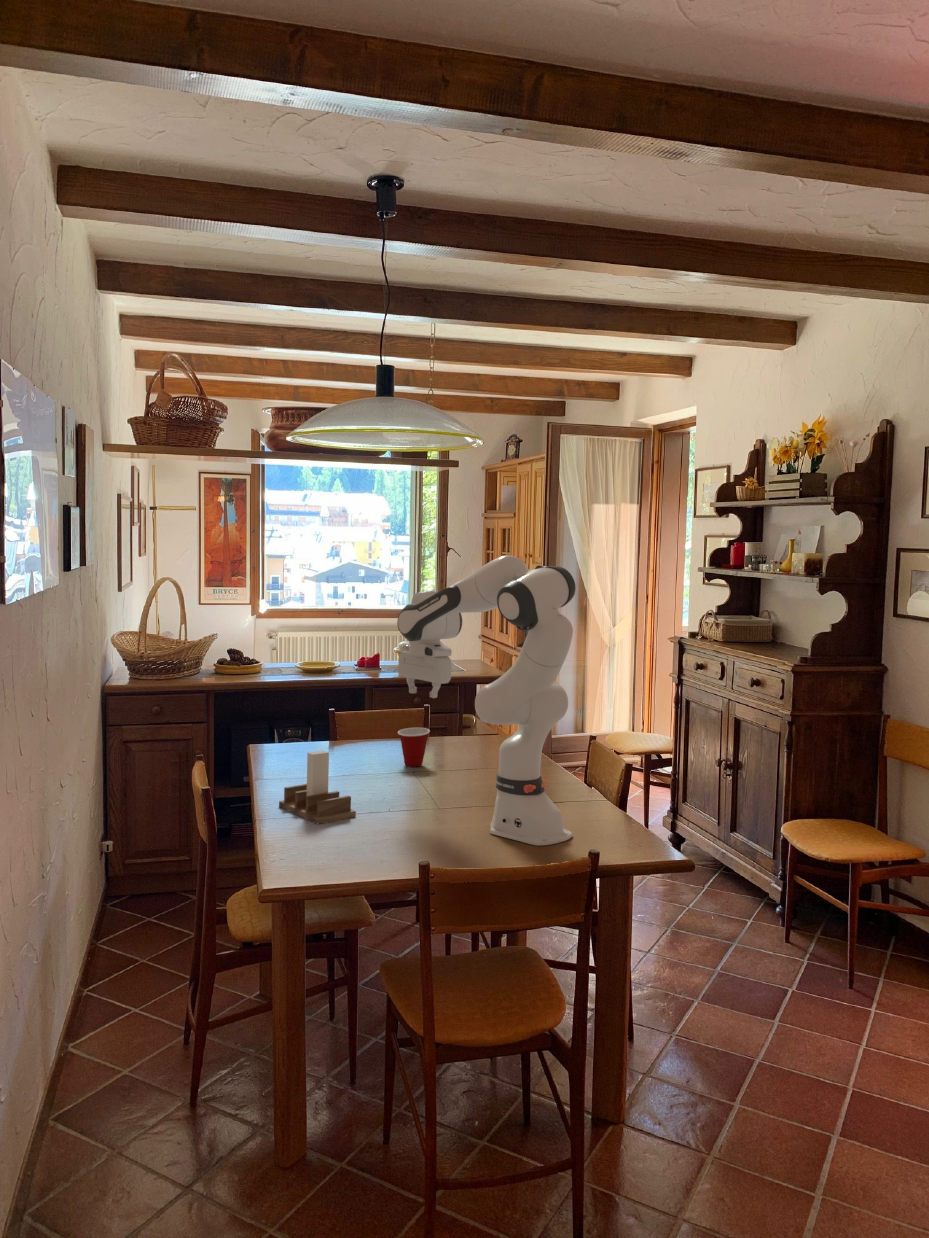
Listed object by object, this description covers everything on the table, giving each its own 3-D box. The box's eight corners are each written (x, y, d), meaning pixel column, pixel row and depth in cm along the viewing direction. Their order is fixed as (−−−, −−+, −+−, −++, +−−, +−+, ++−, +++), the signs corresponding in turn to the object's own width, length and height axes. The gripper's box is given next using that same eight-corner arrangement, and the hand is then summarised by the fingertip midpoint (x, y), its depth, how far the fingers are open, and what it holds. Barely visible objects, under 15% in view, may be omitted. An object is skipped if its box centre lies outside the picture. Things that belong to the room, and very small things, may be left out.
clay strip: (327, 805, 255) (328, 752, 254) (312, 808, 252) (313, 754, 250) (321, 803, 257) (323, 750, 256) (306, 806, 254) (307, 752, 253)
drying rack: (355, 816, 251) (356, 796, 251) (317, 824, 243) (318, 803, 243) (315, 799, 266) (316, 780, 265) (278, 806, 258) (279, 787, 258)
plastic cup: (391, 762, 313) (392, 727, 312) (420, 760, 318) (421, 726, 317) (404, 770, 304) (405, 734, 303) (434, 767, 309) (435, 732, 308)
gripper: (393, 644, 270) (392, 691, 271) (438, 651, 255) (436, 701, 256) (410, 643, 275) (409, 689, 276) (455, 650, 259) (454, 699, 260)
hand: (422, 695), depth 266 cm, fingers open, 8 cm apart
